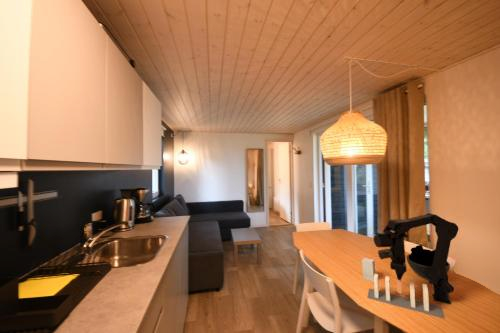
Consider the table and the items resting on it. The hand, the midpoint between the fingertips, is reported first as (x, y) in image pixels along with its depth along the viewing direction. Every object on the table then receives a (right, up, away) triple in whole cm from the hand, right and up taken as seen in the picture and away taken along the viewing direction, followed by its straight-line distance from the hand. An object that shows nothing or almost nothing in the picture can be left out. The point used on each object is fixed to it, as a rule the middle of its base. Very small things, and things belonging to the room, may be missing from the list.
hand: (399, 277), depth 107 cm
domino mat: (+1, -12, -1) cm, 12 cm away
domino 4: (+5, -12, -3) cm, 13 cm away
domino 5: (+9, -11, -6) cm, 15 cm away
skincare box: (-3, -13, +22) cm, 25 cm away
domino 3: (0, -7, 0) cm, 7 cm away
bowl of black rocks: (+32, -11, +22) cm, 40 cm away
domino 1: (-8, -12, +6) cm, 15 cm away
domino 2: (-4, -12, +3) cm, 13 cm away
